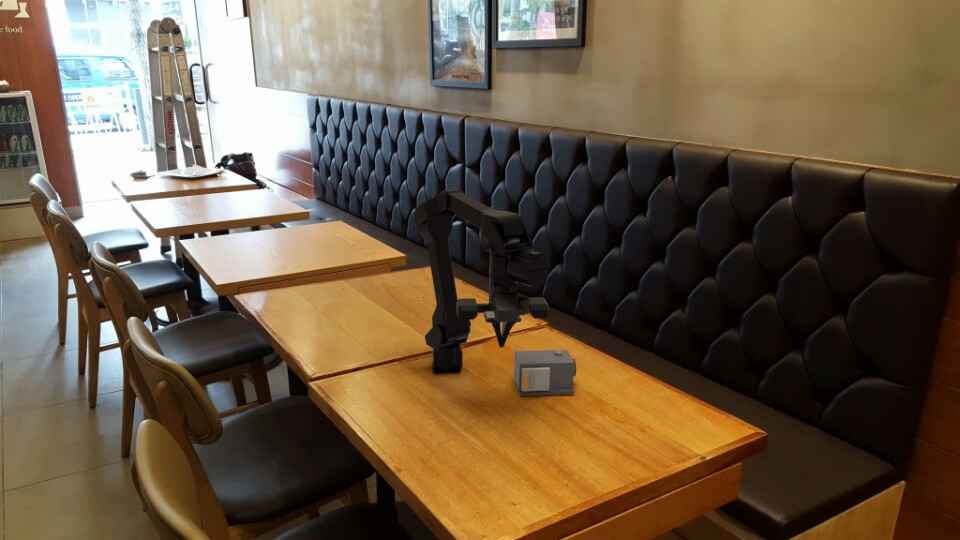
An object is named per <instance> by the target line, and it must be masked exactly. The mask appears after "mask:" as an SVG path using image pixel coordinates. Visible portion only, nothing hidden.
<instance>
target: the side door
mask: <svg viewBox="0 0 960 540" xmlns="http://www.w3.org/2000/svg"><path fill="white" fill-rule="evenodd" d="M549 382H550V368H549V367H544V368H522V377H521V391H547V390H549Z"/></svg>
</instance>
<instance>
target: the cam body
mask: <svg viewBox="0 0 960 540" xmlns="http://www.w3.org/2000/svg"><path fill="white" fill-rule="evenodd" d="M513 366H514V367H513V380H514V384H515V387H516V390H517V393H518V395H519V397H531V396H532V397H533V396H539V397H540V396H563V395H564V396H566V395H567V396H572V395H573V396H574V395H575V390H574V377H576V376H577V375H576V374H577V363H576V359H575V358H573V357H572V356H571V354H570V352H569V351H568V349H553V350H552V349H549V350H547V349H546V350H545V349H544V350H543V349H542V350H515V351H514V363H513ZM544 367H549V368H550V382H549V390H547V391H521V377H522V368H544Z"/></svg>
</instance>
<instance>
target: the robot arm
mask: <svg viewBox="0 0 960 540" xmlns="http://www.w3.org/2000/svg"><path fill="white" fill-rule="evenodd" d="M415 209H416V210H414V213H413V220H414V222H415V227H416V230H417V233H418V235H419V236H420V237H421V238H422V239H423V240H424V241H425V242H424V243H426V247H427V254H428V260H429V266H430V271H431V278H432V283H433V285H432V286H433V290H434V296H435V303H436V306H435V309H434V312H433V314H432V317H431V322H432V323H431V324H432V327H431V329H430V330H429V331H427V332H426V334H425V335H424V339H425V340H424V341H425V344H426V346H428V347H430V348H431V349H432V361H431V365H432V374H437V375H438V374H458V373H460V374H461V372H462V369H461V368H463V347H461V344H466V343H467V342H468V338H469V335H470V333H471V326H472V322H471V321H472V320H473V321H474V320H475V319H476V318H477V317H478V315H479V314H483V317H484V321H485V322H486V323H489V324H490V323H491V326H492V327H493V328H492V329H493V330H494V333H495V338H496V340H497V343H498V346H499V348H504V347H505V344H506V343H507V339H508V338H509V334H510V332H511V330H512V329H513V327H514V326H515V324H517V323H520V322H522V318H521V316H526V315H529V313H530V315H531V317H532V318H534V319H549V318H550V306H549V304H548V302H547V301H546V299H545V298H544V297H541V296H540V297H539V296H538V297H536V296H535V297H530V296H528V295H527V296H525V295H519V292H518V283H519V284H522V285H525V286H528V287H530V288H533V289H539V288H540V287H542V286H544V284H545V283H546V282H547V281H548V278H549V275H550V274H549V273H550V268H549V266H548V263H547V261H545V259H543V257H542V255H543V253H542V252H540V251H534V249H535V247H534V244H533V240H532V238H531V236H530V234H529V232H528V229H527V227H526V223H525V222H524V220H523V218H522V216H521V215H520V214H518V213H515V212H512V211H508V210H498V209H495V208H494V209H493V208H492V207H490V206H488V205H486V204H484V203H482V202H480V201H478V200H477V199H475V198H473V197H471V196H469V194H468V195H467V194H466V193H464V191H463V190H461V189H458V188H455V189H447V190H446V189H445V190H442V191H440V192H438V194H437V195H436V196H434V197H432V198H430V199H428V200H426V201H424V202H423V203H421V204H419V205H417V207H416V208H415ZM456 216H458V217H460V218H461V219H462V220H464V221H467V222H468V223H470V224H472V225H473V226H475V227H477V228H478V229H479V230H480V235H481V236H482V238H483V239H485V240H486V241H487V242H488V243H487V244H486V245H484V246H483V250H484V251H485V252H489V279H488V281H489V283H488V285H489V286H488V303H477V299H476V298H475V297H474V298H472V297H471V298H470V297H469V298H467V297H465V298H458V293H457V287H456V280H455V274H454V267H453V262H452V254H451V250H450V249H451V248H450V241H449V238H450V237H451V234H452V231H453V228H454V221H453V220H454V218H455V217H456ZM532 250H533V251H532ZM501 324H502V325H501Z"/></svg>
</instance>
